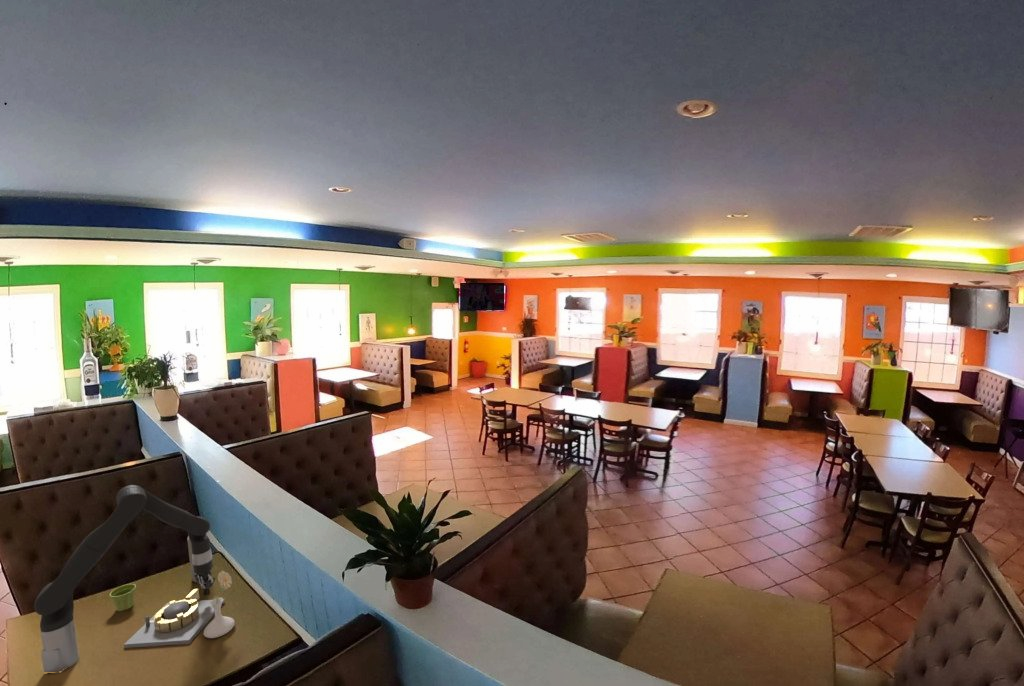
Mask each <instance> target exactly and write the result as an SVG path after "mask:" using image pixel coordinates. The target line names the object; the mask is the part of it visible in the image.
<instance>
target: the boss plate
mask: <svg viewBox="0 0 1024 686" xmlns="http://www.w3.org/2000/svg"><path fill="white" fill-rule="evenodd" d="M223 599H224V600H223V602H222V604H223V603H224V602H225V603H226V601H225V600H226V599H225V598H223ZM212 600H213V599H206V600H205V599H204V600H197V601H198V607H199V614H198V616H197V617H196V618H195V619H194V620H193V621H192V622H191V623H189V624H187V625H186V626H184V627H181V628H179V629H176V630H174V631H170V632H159V631H157V630H155V626H154V616H155V614H154V615H153V616H152V617H150V615H146V616H145V617H144V621H145V624H144V625H142V626H141V627H140V628H139V629H138V630H137V631H136V632H135V633H134V634H133V635H132V636H131V637H130V638H129V639H128V640H127V641H126V642H125V643H123V648H125V649H129V648H144V647H158V646H173V645H175V646H176V645H187V644H191V642H193V640H194V639H195V638H196V636H198V634H200V632H201V631H202V629H204V627H206V626H207V625H208V623H209V622H210V620H211V619H212V618H213V617H214V616H215V612H214V608H213V607H212V606H211V605H210V602H211V601H212ZM179 601H180V600H179ZM225 603H224V604H225ZM222 604H221V607H222V606H223V605H224V604H223V605H222ZM167 605H169V602H167V603H165V604H164V605H163V606H162V608H164V607H166V606H167ZM162 608H160V609H159V610H158V611H157V612H156V613H158V612H159V611H160V610H161V609H162ZM188 611H189V603H188V602H187V601H183V600H182V601H180V602H177V601H176V603H173V604H171V605H170V606H168V607H167V608H166V609H165V610H164V612H163V613H164V619H173V618H176V617H177V615H178V614H180V613H183V614H185V613H186V612H188Z"/></svg>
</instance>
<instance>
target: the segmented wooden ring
mask: <svg viewBox="0 0 1024 686" xmlns="http://www.w3.org/2000/svg"><path fill="white" fill-rule="evenodd" d="M199 600H200V591H199V588H193V589H192V590H191V591H190V592H189V594H187V595H186V596H185V598H184V599H180V600H175V599H173V600H171V601H169V602H168V603H169V605H167V606H166V607H164V608H162V609H161V608H160V609H161V610H160V609H159V610H160V611H159V610H158V611H159V612H158V611H157V612H158V613H157V612H156V613H155V614H154V615H155V616H154V615H153V616H154V626H155V630H157V631H159V632H170V631H174V630H176V629H179V628H181V627H184V626H186V625H187V624H189V623H191V622H192V621H193V620H194V619H195V618H196V617H197V616H198V614H199V607H198V601H199ZM180 601H187V602H188V603H189V611H188V612H186V613H185V614H183V613H180V614H178V615H177V617H176V618H173V619H164V613H163V612H164V610H165V609H166V608H167V607H168V606H170V605H171V604H173V603H176V602H180Z"/></svg>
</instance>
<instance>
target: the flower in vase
mask: <svg viewBox="0 0 1024 686" xmlns="http://www.w3.org/2000/svg"><path fill="white" fill-rule="evenodd" d="M230 575H231V574H229V572H225V571H224V570H222V571H220V572H219V573H218V574H217V582H218V584H219V587H218V591H217V596H213V597H212V599H211V600H212V601H211V602H210V605H211V606H212V607H213V608H214V612H215V614H214V618H213V619H212V620H211V621H209V622H208V623H207V624H206V626H205V628H204V629H203V636H204V637H206V638H208V639H215V638H219V637H222V636H224V635H226V634H227V633H229V632H230V631H232V629H233V628H234V627H235V624H236V621H235V620H234V618H233V617H229V616H224V615H222V610H221V609H222V608H221V607H222V606H221V604H222V602H223V600H224V599H225V598H223V597H220V594H224V593H225V592H226V590H227V589H229V588H231V587H232V584H233V582H232V576H230Z"/></svg>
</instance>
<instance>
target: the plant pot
mask: <svg viewBox="0 0 1024 686" xmlns="http://www.w3.org/2000/svg"><path fill="white" fill-rule="evenodd" d="M136 587H137V585H136V584H135V583H127V584H123V585H121V586H118V587H117V588H114V589H113V590H112V591H111V592H110V593H109V597H110V598H111V599H112V601H113V603H114V606H115V611H117V612H123V611H125V610H126V611H127V610H128V609H130V608H132V607H133V606H134V603H135V601H134V600H135V591H136Z"/></svg>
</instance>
